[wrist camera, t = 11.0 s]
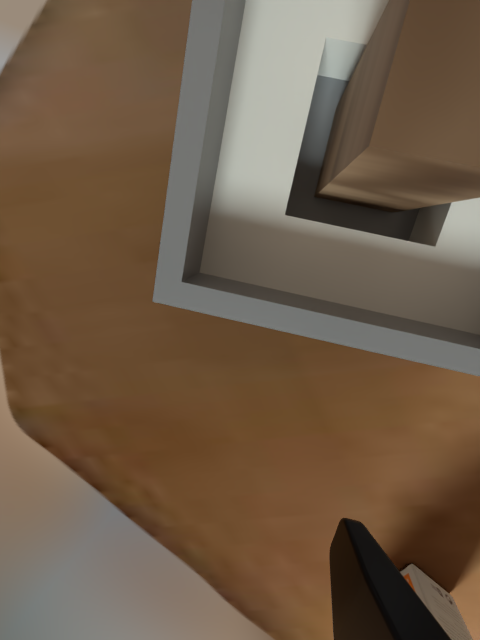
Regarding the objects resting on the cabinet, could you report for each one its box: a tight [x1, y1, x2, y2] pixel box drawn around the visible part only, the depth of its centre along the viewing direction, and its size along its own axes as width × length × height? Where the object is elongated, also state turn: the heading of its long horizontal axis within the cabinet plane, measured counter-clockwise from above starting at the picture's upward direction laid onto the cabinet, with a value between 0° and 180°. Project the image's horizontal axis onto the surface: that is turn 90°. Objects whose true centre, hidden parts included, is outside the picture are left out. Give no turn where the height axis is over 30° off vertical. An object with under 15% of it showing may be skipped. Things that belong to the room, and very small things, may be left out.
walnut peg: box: [314, 0, 480, 213], centre depth 11 cm, size 4×4×10 cm
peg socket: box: [153, 0, 480, 376], centre depth 13 cm, size 15×15×7 cm
